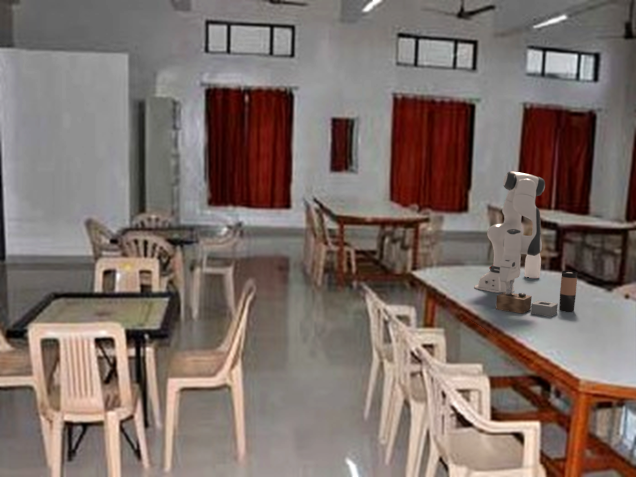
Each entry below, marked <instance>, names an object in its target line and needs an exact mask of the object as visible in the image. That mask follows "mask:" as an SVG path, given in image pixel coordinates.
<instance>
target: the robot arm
mask: <svg viewBox="0 0 636 477" xmlns="http://www.w3.org/2000/svg"><path fill="white" fill-rule="evenodd" d="M502 180H503V188H504V189H506V190H507V191H508V192H507V194H506V197H505V200H504V204H503V207H502V210H501V212H502V214H503V218H504V219H503V222H502V223H494V224H493V225H490V226H489V227H488V230H487V233H486V235H487V238H488V240H489V241H490V242H491V245H492V248H493V264H492V265H490V266H489V267H488V269H489V271H488V272H486V273H485V274H483V275H482V276H481V277H480V278H479V280H478V284H475V285H474V289H476V290H481V291H486V292H491V293H499V294H500V293H504V292H506V289H510V280H513V284H514V283H515V280H516V279H518V278H520V276H521V259H522V258H521V257H522V255H527V254H528V255H532V256H536V255H537V254H539V253H540V254H541V252H542V249H543V243H542V242H543V241H542V229H541V228H542V227H541V212H540V209H539V208H538V207H537V206H536V198H537V197H538V196H539V197H540V196H541V195H542V193H544V191H545V188H546V182H545V179H544V178H542V177H540V176H536V175H533V174H529V173H524V172H518V171H517V172H516V171H513V170H511V171H508V172H506V173H505V175H504V177H503V179H502ZM522 216H523V217H524V218H527V219H529V220H530V221H531V222H532V232H533V234H531V235H525V234H524V233H525V232H524V227H523V226H522ZM514 292H515V288H514V285H513V286H512V293H514Z"/></svg>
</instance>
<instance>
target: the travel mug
mask: <svg viewBox="0 0 636 477" xmlns="http://www.w3.org/2000/svg"><path fill="white" fill-rule="evenodd" d="M560 280H561V281H560V291H559V304H558V305H559V306H558V308H559V309H558V310H559V311H561V312H564V313H573V312H574V311H575V305H576V297H577V295H576V294H577V283H578V282H577V281H578V272H577V271H574V270H573V271H572V270H562V271H561V276H560Z"/></svg>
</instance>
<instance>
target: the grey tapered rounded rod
mask: <svg viewBox="0 0 636 477" xmlns="http://www.w3.org/2000/svg"><path fill="white" fill-rule="evenodd" d="M512 286H513V287H514V283H513V280H510V289H506V296H512V293H513V292H512Z"/></svg>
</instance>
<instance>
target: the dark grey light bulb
mask: <svg viewBox="0 0 636 477" xmlns="http://www.w3.org/2000/svg"><path fill="white" fill-rule="evenodd" d="M517 294H518V296H520V298H524V297H525V296H526V295H527V293H525V292H518V293H517Z"/></svg>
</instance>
